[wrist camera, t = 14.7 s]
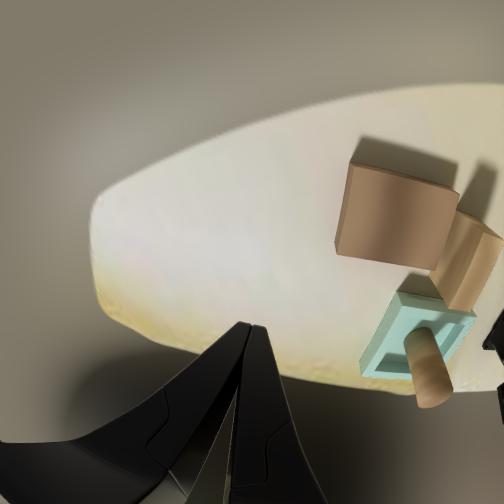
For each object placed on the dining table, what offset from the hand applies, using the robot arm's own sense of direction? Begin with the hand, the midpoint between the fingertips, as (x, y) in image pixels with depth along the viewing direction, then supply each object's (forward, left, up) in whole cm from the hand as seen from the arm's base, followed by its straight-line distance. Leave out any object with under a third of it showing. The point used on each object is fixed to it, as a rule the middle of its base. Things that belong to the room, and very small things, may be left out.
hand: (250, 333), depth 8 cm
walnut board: (-8, -1, -13) cm, 15 cm away
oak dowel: (-15, +9, -12) cm, 21 cm away
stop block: (-14, 0, -12) cm, 19 cm away
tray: (-15, +9, -12) cm, 22 cm away
